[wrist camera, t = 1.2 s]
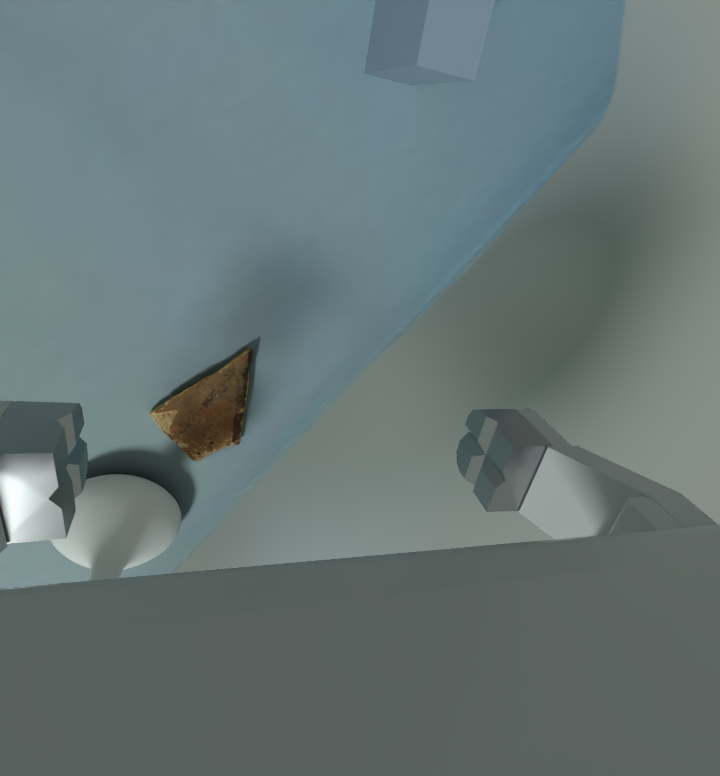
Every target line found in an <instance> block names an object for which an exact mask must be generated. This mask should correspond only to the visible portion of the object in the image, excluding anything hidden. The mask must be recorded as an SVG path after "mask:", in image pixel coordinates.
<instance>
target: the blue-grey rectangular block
mask: <svg viewBox="0 0 720 776" xmlns="http://www.w3.org/2000/svg"><path fill="white" fill-rule="evenodd" d="M494 4H495V0H376V3H375V10H374V16H373V22H372V29H371V35H370V41H369V48H368V54H367V61H366V67H365V73H364V74H368V75H372V76H376V77H380V78H384V79H388V80H392V81H396V82H400V83H404V84H408V85H420V84H436V83H452V82H468V81H475V79H476V75H477V71H478V67H479V63H480V59H481V55H482V51H483V47H484V43H485V39H486V35H487V31H488V27H489V23H490V19H491V16H492V12H493V8H494Z"/></svg>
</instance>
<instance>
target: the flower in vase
mask: <svg viewBox="0 0 720 776" xmlns="http://www.w3.org/2000/svg"><path fill="white" fill-rule="evenodd" d="M74 499H75V506H76V512H75V515H74V518H73V521H72V523H71V526H70V529H69V532H68V535H67V538H65V539H54V540H51V542H52V543H53V545H54V546H55V547H56V549H57V550H58V551H60V552H61V553H62V554H63V555H64V556H66V557H67V558H69V559H70V560H72V561H73V562H75V563H77V564H79V565H82V566H85V567H88V568H90V578H89V581H93V580H104V579H116V578H120V575H121V572H122V570H123V569H127V568H131V567H135V566H138V565H140V564H143V563H145V562H147V561H149V560H151V559H153V558H154V557H156V556H158V555H159V554H161V553H162V552H163V551H164V550H165V549H167V548H168V546H169V545H170V544H171V543H172V541H173V540H174V538H175V536H176V535H177V533H178V531H179V529H180V525H181V511H180V508H179V505H178V504H177V502H176V500H175V499H174V498H173V497H172V495H171V494H170V493H168V492H167V491H166V490H165V489H164V488H162V487H161V486H160V485H158V484H156V483H154V482H152V481H150V480H147V479H145V478H141V477H138V476H133V475H125V474H109V475H101V476H96V477H92V478H89V479H86V482H85V485H84V488H83V491H82V493H81V494H80V495H78V496H77V497H76V498H74Z"/></svg>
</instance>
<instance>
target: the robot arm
mask: <svg viewBox="0 0 720 776" xmlns="http://www.w3.org/2000/svg"><path fill="white" fill-rule="evenodd" d="M465 425H466V428H467V430H468V433H467V434H466V435H465V436H464V437H463V438H462V439H461V440H460V442H459V445H458V449H457V465H458V468H459V471H460V473H461V474H462V476H463V477H464V479H466V480H467V481H469V482H471V483H473V484H474V489H473V492H474V494H475V495H476V496H477V498H478V499H479V501H480V503H481V504H482V505H483V507H484V508H485V510H486V511H487V512H493V511H519V513H520V514H522V515H523V516H525V517H526V518H527V519H529V520H530V521H531V522H533V523H534V524H535V525H537V526H538V527H539V528H541V529H542V530H543V531H545V532H546V533H547V534H549V535H550V536H551V537H553V538H554V540H542V541H532V542H521V543H509V544H499V545H486V546H475V547H464V548H453V549H442V550H430V551H419V552H409V553H397V554H386V555H375V556H364V557H353V558H341V559H330V560H318V561H307V562H296V563H285V564H273V565H262V566H251V567H239V568H230V569H229V568H228V569H217V570H206V571H195V572H183V573H172V574H161V575H149V576H138V577H127V578H116V579H104V580H93V581H82V582H71V583H59V584H48V585H37V586H25V587H14V588H3V589H0V776H720V525H718V524H717V523H716V522H714V521H713V520H712V519H711V518H710V517H708V516H707V515H706V514H705V513H704V512H702V511H701V510H700V509H699V508H698V507H696V506H695V505H694V504H693V503H691V502H690V501H689V500H688V499H687V498H686V497H684V496H683V495H682V494H680V493H678V492H676V491H674V490H672V489H670V488H668V487H665V486H663V485H661V484H659V483H657V482H655V481H653V480H650V479H648V478H646V477H644V476H642V475H639V474H637V473H635V472H633V471H631V470H629V469H626V468H624V467H622V466H620V465H618V464H616V463H613V462H611V461H609V460H607V459H604V458H603V457H600V456H598V455H596V454H594V453H591V452H589V451H587V450H585V449H583V448H581V447H579V446H572V445H571V444H570V443H568V442H567V441H566V440H565V439H564V438H563V437H562V436H561V435H560V434H559V433H558V432H557V431H555V429H554V428H553V427H551V426H550V425H549V424H548V423H547V422H546V421H545V420H544V419H543V418H542V417H541V416H540V415H538V413H536V411H534V410H531V409H529V408H524V409H478V410H477V409H476V410H472V412H471V413H470V414H469V416H468V418H467V421H466V424H465ZM83 426H84V418H83V412H82V407H81V406H80V404H79V403H58V402H26V401H16V402H14V401H0V552H1V551H3V550H4V549H5V548H6V547H7V546H8V545H7V544H8V543H19V542H31V541H42V540H54V539H65V538H67V535H68V532H69V529H70V526H71V523H72V521H73V518H74V515H75V512H76V506H75V499H74V498H76V497H77V496H78V495H80V494H81V493H82V491H83V488H84V485H85V482H86V475H87V468H88V452H87V443H86V442H84V441H83V440H82V439H81V438H80V437H79V436H80V433H81V431H82V428H83Z"/></svg>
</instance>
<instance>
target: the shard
mask: <svg viewBox="0 0 720 776" xmlns="http://www.w3.org/2000/svg"><path fill="white" fill-rule="evenodd" d="M252 356H253V349H251V350H248V348H247V349H246V350H244V351H243V352H242V353H240V354H239V355H238V356H236V357H234V358H233V359H232V360H231V361H229V362H228V363H227V364H226V365H225V366H223V367H222V368H221V369H219V370H218V371H216V372H215V373H213V374H211V375H210V376H206V377H204V378H203V379H202V380H200V381H199V382H197V383H196V384H195V385H193V386H191V387H189V388H187V389H185V390H184V391H183V392H181V393H179V394H177V395H175V396H173V397H171V398H170V399H168V400H167V401H166V402H165V403H164V404H161V405H159V406H157V407H156V408H155V409H154V410H152V411H151V412H150V414H149V415H150V416H151V417H152V419H153V420H154V421H155V422H156V423H157V425H158V426H159V427H160V429H161V430H162V431H163V432H164V433H165V434H166V435H167V436H168V437H169V438H170V439H171V440H173V441H175V443H176V444H177V445H178V446H179V447H180V448H182V449H183V450H184V451H185V452H186V453H187V455H188V456H189V457H190V458H191V459H192V460H194V461H200V460H202V459H204V458H205V457H207V456H209V455H210V454H212V453H214V452H215V451H218V450H220V449H223V448H225V447H227V446H230V445H237V444H239V443H240V437H241V430H242V423H243V418H244V410H245V406H246V400H247V393H248V386H249V369H250V364H251V362H252Z"/></svg>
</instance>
